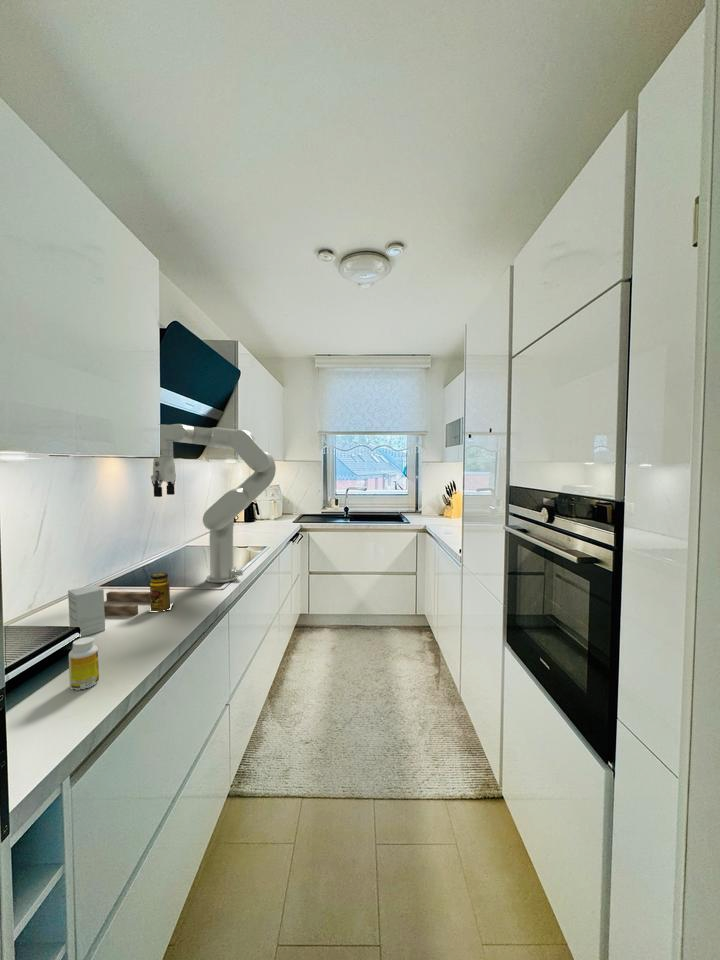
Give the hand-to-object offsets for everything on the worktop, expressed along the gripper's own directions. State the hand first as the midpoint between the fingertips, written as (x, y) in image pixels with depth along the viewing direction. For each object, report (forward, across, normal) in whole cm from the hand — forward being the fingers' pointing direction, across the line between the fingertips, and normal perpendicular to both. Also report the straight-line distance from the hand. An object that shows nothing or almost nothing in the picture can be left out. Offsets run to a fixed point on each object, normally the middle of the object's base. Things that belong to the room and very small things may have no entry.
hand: (164, 495), depth 176 cm
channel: (+36, -32, -2) cm, 48 cm away
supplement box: (+36, -52, -4) cm, 64 cm away
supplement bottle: (+36, -81, -25) cm, 92 cm away
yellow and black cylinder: (+36, -32, -16) cm, 51 cm away
